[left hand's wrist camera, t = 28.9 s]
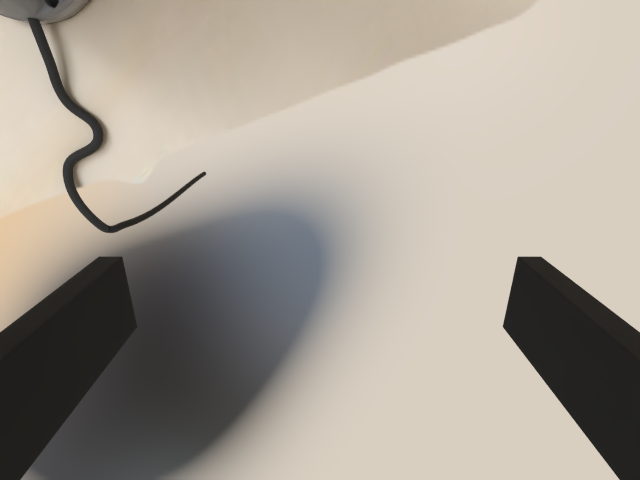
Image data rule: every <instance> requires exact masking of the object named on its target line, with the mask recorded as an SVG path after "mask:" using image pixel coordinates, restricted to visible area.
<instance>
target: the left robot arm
mask: <svg viewBox="0 0 640 480" xmlns="http://www.w3.org/2000/svg"><path fill="white" fill-rule="evenodd" d="M89 1H90V0H0V15H2V16H5V17H8V18H12V19H16V20H21V21H25V22H29V24H30V27H31V29H32V32H33V34H34V37H35V39H36V42H37V45H38V47H39V50H40V52H41V55H42V57H43V60H44V62H45V65H46V68H47V71H48V74H49V77H50V80H51V83H52V86H53V88H54V90H55V92H56V94H57V96H58V98H59V99H60V101H61V102H62V103H63V105H64V106H65V107H66V108H67V109H68V110H70V111H71V112H72V113H73V114H75V115H76V116H78V117H79V118H81V119H82V120H84V121H85V122H86V123H88V124H89V125H90V127H91V128H92V130H93V140H92V142H91V143H90V144H88V145H87V146H85V147H83V148H81V149H79V150H77V151H76V152H74V153H72V154H71V155H70V156H69V157H68V158H67V159H66V160H65V162H64V165H63V178H64V183H65V187H66V189H67V192H68V194H69V196H70V198H71V200H72V201H73V203H74V204H75V206H76V207H77V208H78V210H79V211H80V212H81V213H82V214H83V215H84V216H85V217H86V218H87V219H88V220H89V221H90V222H91V223H92V224H93V225H94V226H95V227H97V228H98V229H100V230H101V231H103V232H106V233H115V232H118V231H120V230H122V229H125V228H127V227H130V226H133V225H135V224H138V223H140V222H142V221H144V220H146V219H148V218H149V217H151V216H153V215H154V214H156V213H157V212H159V211H160V210H162V209H163V208H165V207H166V206H167V205H169V204H170V203H171V202H173V201H174V200H175V199H176V198H178V197H179V196H180V195H181V194H182V193H184V192H185V191H186V190H187V189H188V188H190V187H191V186H192V185H193V184H194V183H196V182H197V181H198V180H200V179H201V178H202V177H204V176H205V175H206V172H202V173H201V174H199V175H198V176H196V177H195V178H193V179H192V180H191V181H190V182H188V183H187V184H186V185H184V186H183V187H182V188H181V189H179V190H178V191H177V192H175V193H174V194H173V195H172V196H170V197H169V198H168V199H166V200H165V201H163V202H162V203H161V204H159V205H158V206H156V207H154V208H153V209H151V210H149V211H147V212H146V213H144V214H142V215H139V216H137V217H135V218H132V219H129V220H126V221H123V222H120V223H118V224H116V225H113V226H109V225H106V224H105V223H103V222H102V221H101V220H100V219H99V218H97V217H96V216H95V215H94V214H93V213H92V212H91V211H90V210H89V208H88V207H87V206H86V205H85V204H84V202H83V201H82V199H81V198H80V196H79V194H78V192H77V190H76V187H75V184H74V181H73V171H72V170H73V166H74V164H75V163H76V162H77V161H79V160H80V159H82V158H84V157H86V156H88V155H90V154H92V153H94V152H95V151H96V150H98V149H99V147H100V146H101V144H102V141H103V132H102V128H101V126H100V124H99V123H98V122H97V120H96V119H95V118H94V117H92V116H91V115H90V114H88V113H87V112H86V111H84V110H83V109H81V108H80V107H78V106H77V105H76V104H75V103H73V102H72V100H71V99H70V98H69V97H68V95H67V93H66V91H65V90H64V87H63V85H62V82H61V79H60V76H59V73H58V70H57V66H56V63H55V61H54V58H53V55H52V53H51V50H50V47H49V45H48V42H47V40H46V37H45V34H44V32H43V29H42V26H41V24H49V23H56V22H59V21H63V20H65V19H68V18H70V17H72V16H73V15H75V14H76V13H78V12H79V11H80V10H81V9H82V8H83V7H85V5H86V4H87V3H88V2H89ZM503 327H504V329H505V330H506V332H507V333H508V334H509V335H510V337H511V338H512V339H513V341H514V342H515V343H516V345H517V346H518V347H519V349H520V350H521V351H522V352H523V354H524V355H525V356H526V358H527V359H528V360H529V361H530V363H531V364H532V366H533V367H534V368H535V369H536V371H537V372H538V373H539V375H540V376H541V377H542V379H543V380H544V381H545V383H546V384H547V385H548V386H549V388H550V389H551V390H552V392H553V393H554V394H555V396H556V397H557V398H558V400H559V401H560V402H561V403H562V405H563V406H564V407H565V409H566V410H567V411H568V413H569V414H570V415H571V417H572V418H573V419H574V420H575V422H576V423H577V424H578V426H579V427H580V428H581V430H582V431H583V432H584V433H585V435H586V436H587V437H588V439H589V440H590V441H591V443H592V444H593V445H594V447H595V448H596V449H597V451H598V452H599V453H600V454H601V456H602V457H603V458H604V460H605V461H606V462H607V464H608V465H609V466H610V468H611V469H612V470H613V471H614V473H615V474H616V475H617V477H618V478H619V479H620V480H640V332H638V331H637V330H636V329H634V328H633V327H632V326H631V325H629V324H628V323H627V322H625V321H624V320H623V319H621V318H620V317H619V316H618V315H616V314H615V313H614V312H612V311H611V310H610V309H608V308H607V307H606V306H605V305H603V304H602V303H601V302H599V301H598V300H597V299H595V298H594V297H593V296H592V295H590V294H589V293H588V292H586V291H585V290H584V289H582V288H581V287H580V286H578V285H577V284H576V283H575V282H573V281H572V280H571V279H569V278H568V277H567V276H565V275H564V274H563V273H561V272H560V271H559V270H558V269H556V268H555V267H554V266H552V265H551V264H550V263H548V262H547V261H546V260H544V259H543V258H542V257H518V258H517V263H516V268H515V272H514V277H513V282H512V286H511V291H510V296H509V300H508V305H507V310H506V315H505V319H504V324H503ZM136 328H137V324H136V319H135V315H134V310H133V305H132V300H131V296H130V291H129V286H128V282H127V277H126V272H125V268H124V263H123V258H122V257H98V258H97V259H96V260H94V261H93V262H92V263H90V264H89V265H88V266H86V267H85V268H84V269H82V270H81V271H80V272H79V273H77V274H76V275H75V276H73V277H72V278H71V279H69V280H68V281H67V282H66V283H64V284H63V285H62V286H60V287H59V288H58V289H56V290H55V291H54V292H52V293H51V294H50V295H48V296H47V297H46V298H45V299H43V300H42V301H41V302H39V303H38V304H37V305H35V306H34V307H33V308H32V309H30V310H29V311H28V312H26V313H25V314H24V315H22V316H21V317H20V318H19V319H17V320H16V321H15V322H13V323H12V324H11V325H9V326H8V327H7V328H5V329H4V330H3V331H1V332H0V480H20V479H21V478H22V477H23V475H24V474H25V473H26V471H27V470H28V469H29V468H30V466H31V465H32V464H33V462H34V461H35V460H36V458H37V457H38V456H39V454H40V453H41V452H42V451H43V449H44V448H45V447H46V445H47V444H48V443H49V441H50V440H51V439H52V437H53V436H54V435H55V434H56V432H57V431H58V430H59V428H60V427H61V426H62V424H63V423H64V422H65V420H66V419H67V418H68V416H69V415H70V414H71V413H72V411H73V410H74V409H75V407H76V406H77V405H78V403H79V402H80V401H81V399H82V398H83V397H84V396H85V394H86V393H87V392H88V390H89V389H90V388H91V386H92V385H93V384H94V383H95V381H96V380H97V379H98V377H99V376H100V375H101V373H102V372H103V371H104V369H105V368H106V367H107V366H108V364H109V363H110V362H111V360H112V359H113V358H114V356H115V355H116V354H117V352H118V351H119V350H120V349H121V347H122V346H123V345H124V343H125V342H126V341H127V339H128V338H129V337H130V335H131V334H132V333H133V332H134V330H135V329H136Z"/></svg>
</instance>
